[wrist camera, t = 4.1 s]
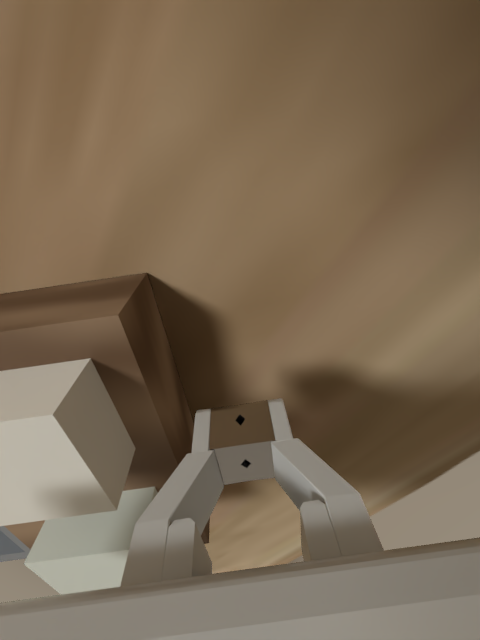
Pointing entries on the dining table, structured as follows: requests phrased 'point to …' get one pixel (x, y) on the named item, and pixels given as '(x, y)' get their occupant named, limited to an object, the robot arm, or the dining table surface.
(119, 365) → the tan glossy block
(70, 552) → the tile
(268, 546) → the dining table surface
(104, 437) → the tile
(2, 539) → the bin
